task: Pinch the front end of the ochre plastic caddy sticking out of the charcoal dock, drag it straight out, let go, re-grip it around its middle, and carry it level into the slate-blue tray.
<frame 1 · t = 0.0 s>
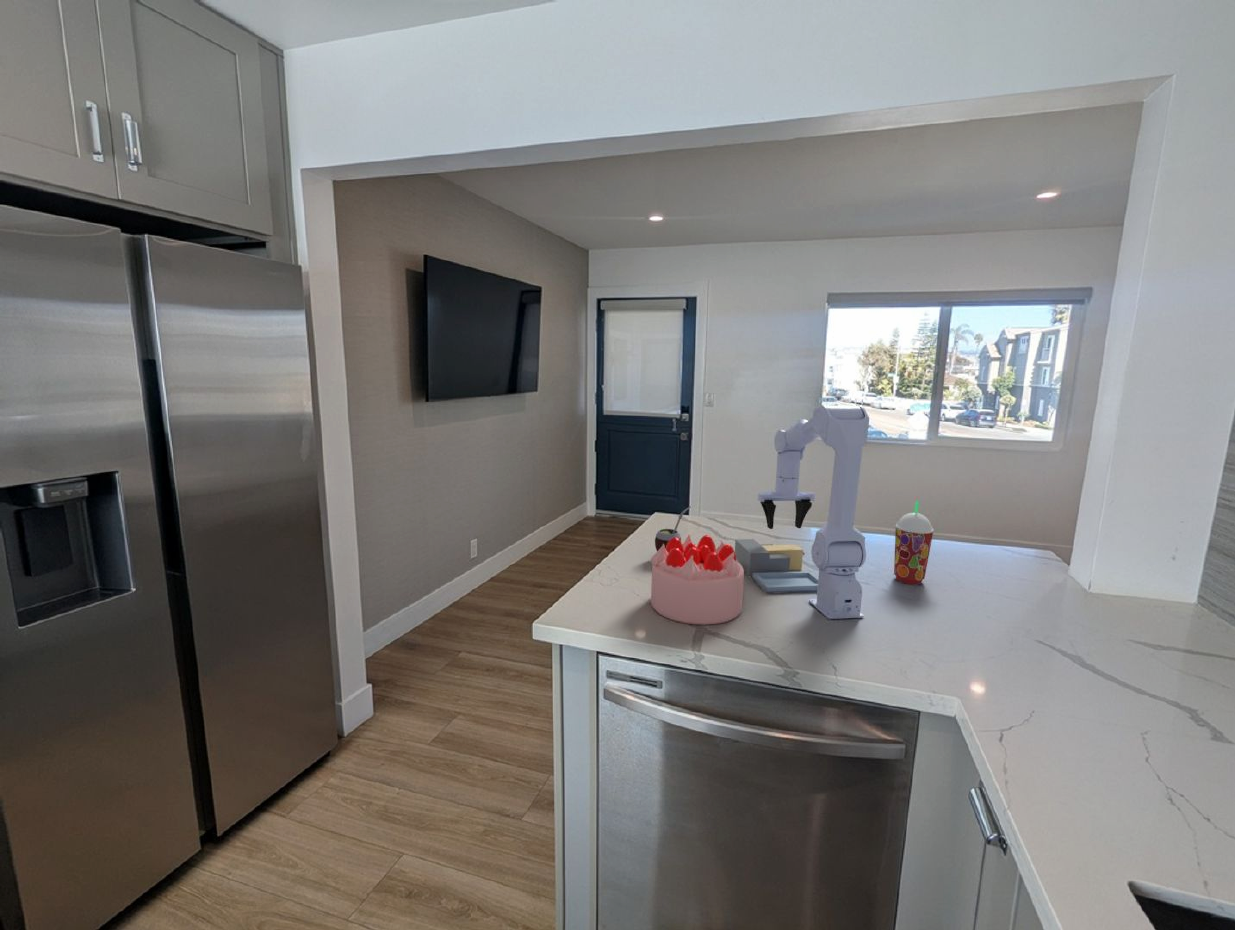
hand: (784, 527, 153), 10 cm above the worktop, tool pointing down, fingers open, 7 cm apart
smoothie: (908, 581, 144), on the worktop
caddy: (779, 567, 152), on the worktop
cake: (695, 607, 127), on the worktop
mate gourd: (669, 560, 156), on the worktop
tray: (789, 584, 140), on the worktop
dock: (769, 567, 152), on the worktop
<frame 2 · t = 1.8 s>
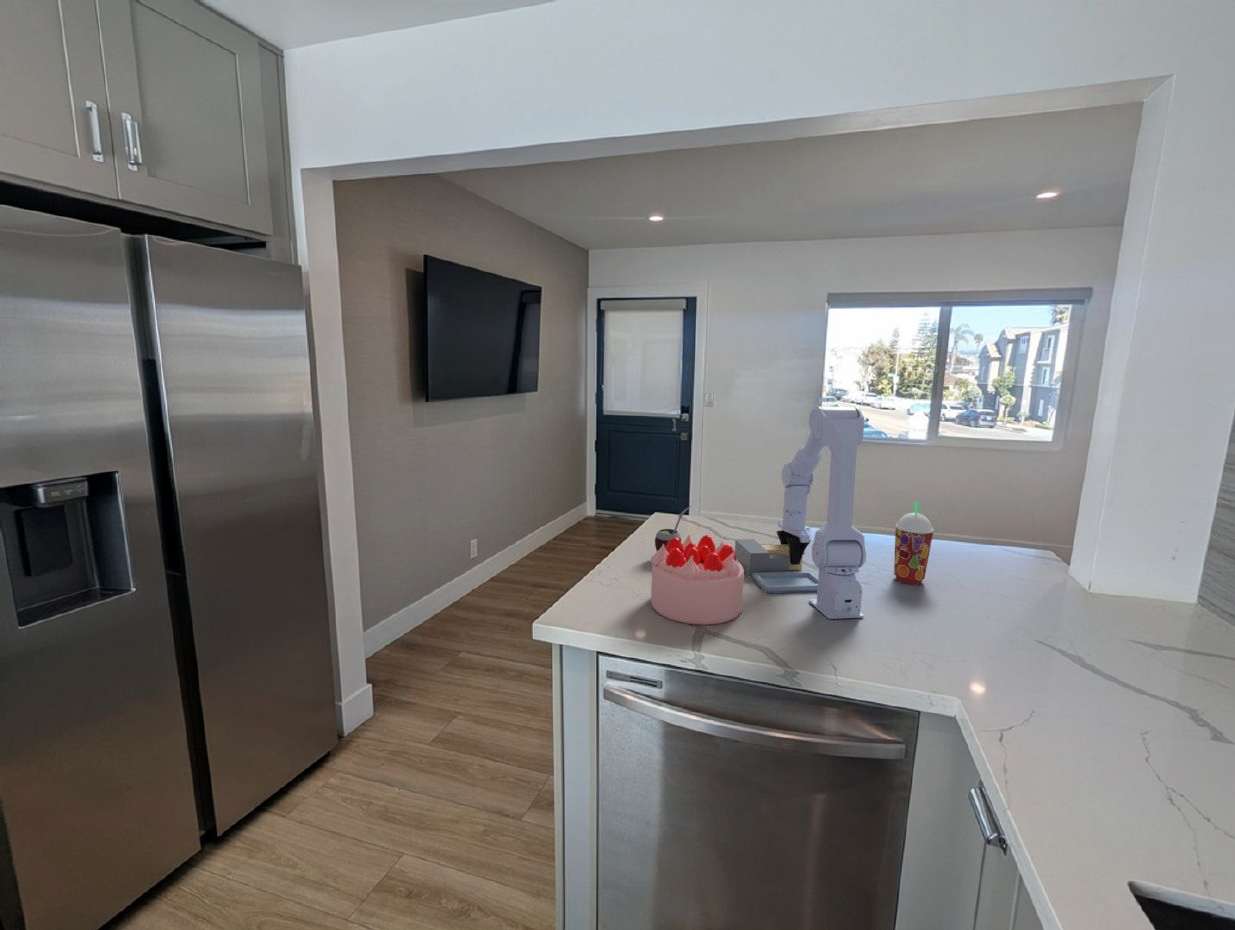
hand: (791, 561, 152), 2 cm above the worktop, tool pointing down, fingers closed on caddy, 4 cm apart
caddy: (779, 567, 152), on the worktop, touching gripper
everything else where it was.
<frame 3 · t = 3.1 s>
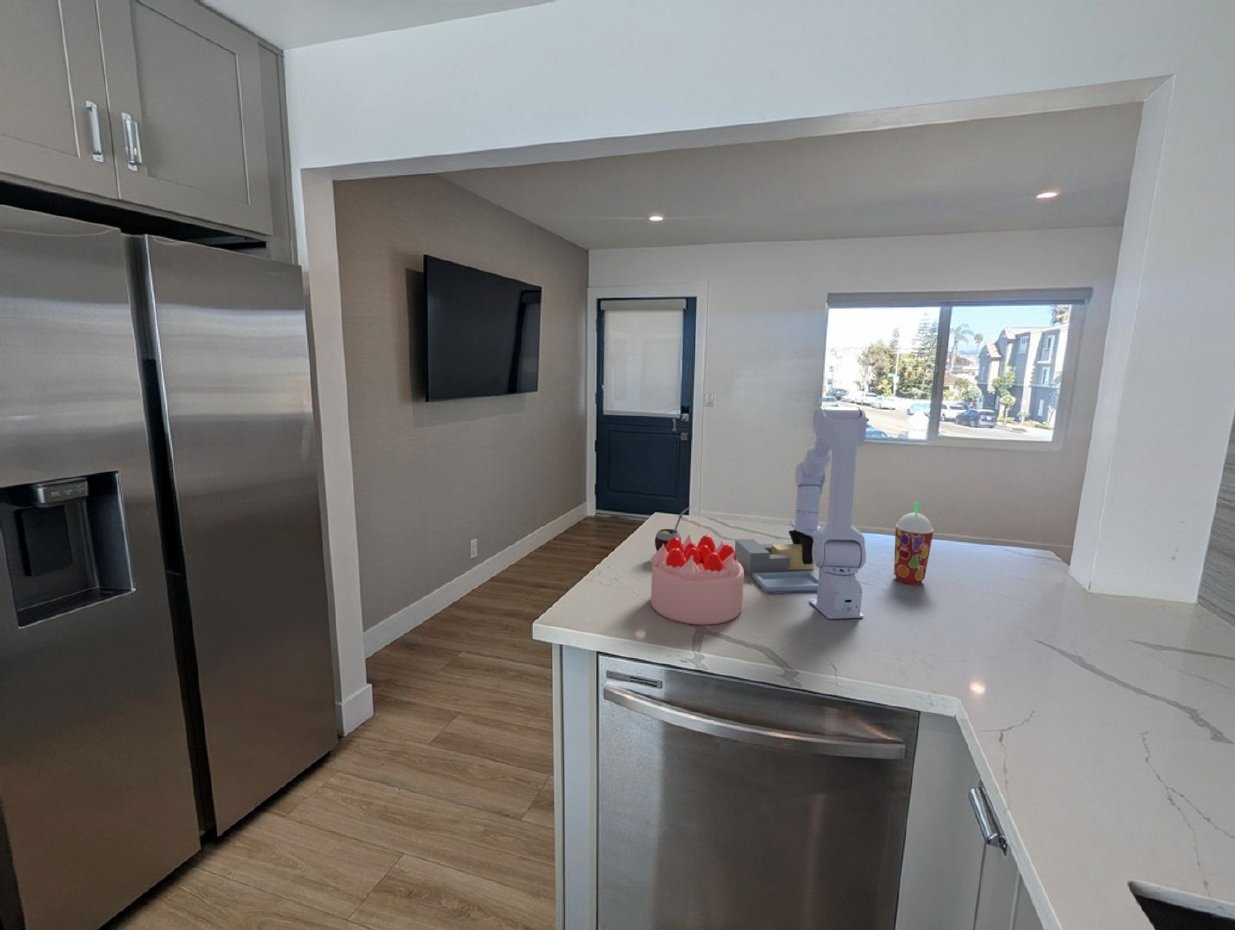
hand: (803, 560, 153), 2 cm above the worktop, tool pointing down, fingers closed on caddy, 4 cm apart
caddy: (791, 566, 153), on the worktop, touching gripper
everything else where it was.
when the fingers open (2 cm above the worktop, at t = 4.5 s): caddy stays where it is, on the worktop.
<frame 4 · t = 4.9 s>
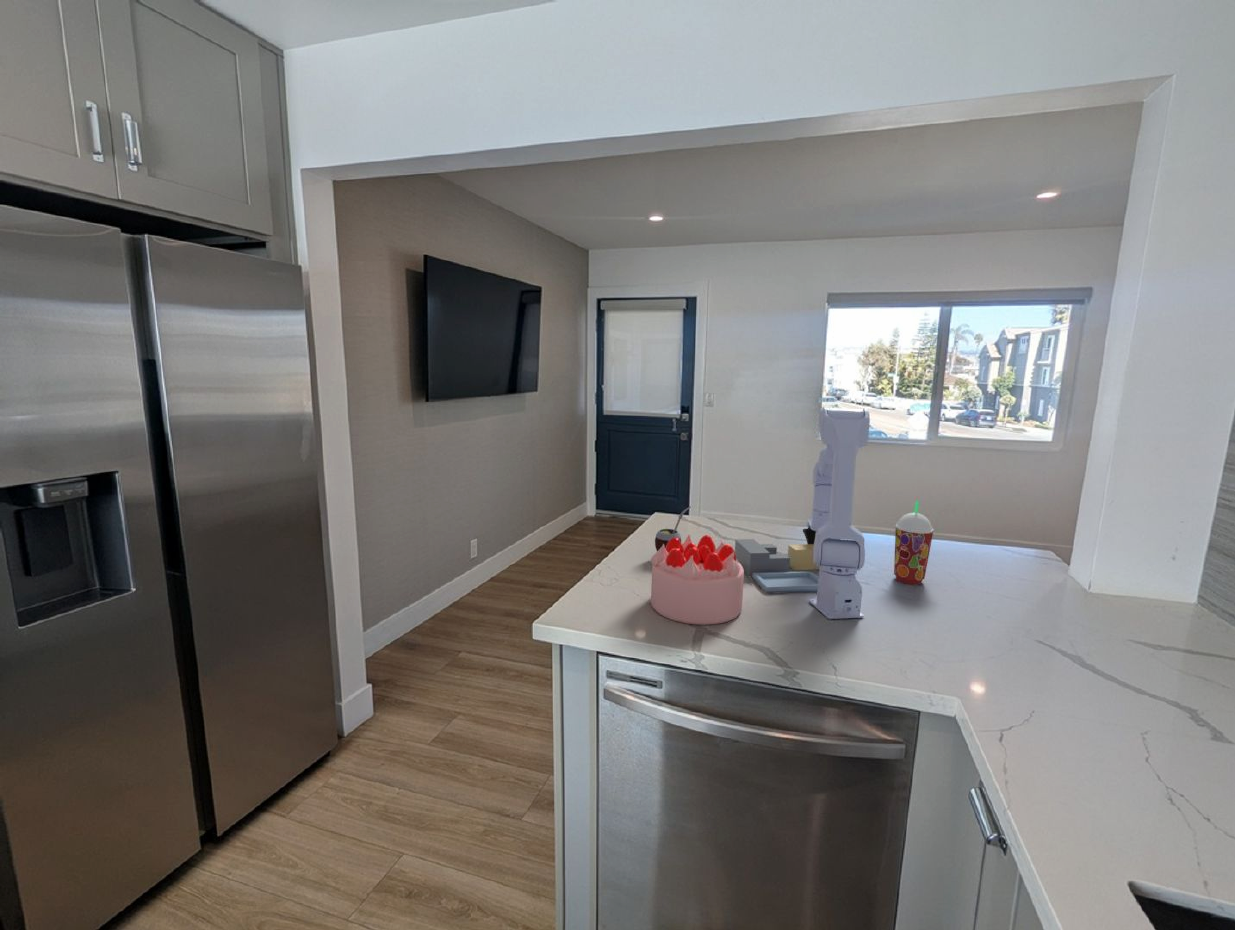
hand: (820, 560, 153), 2 cm above the worktop, tool pointing down, fingers open, 7 cm apart
caddy: (808, 567, 153), on the worktop
everything else where it was.
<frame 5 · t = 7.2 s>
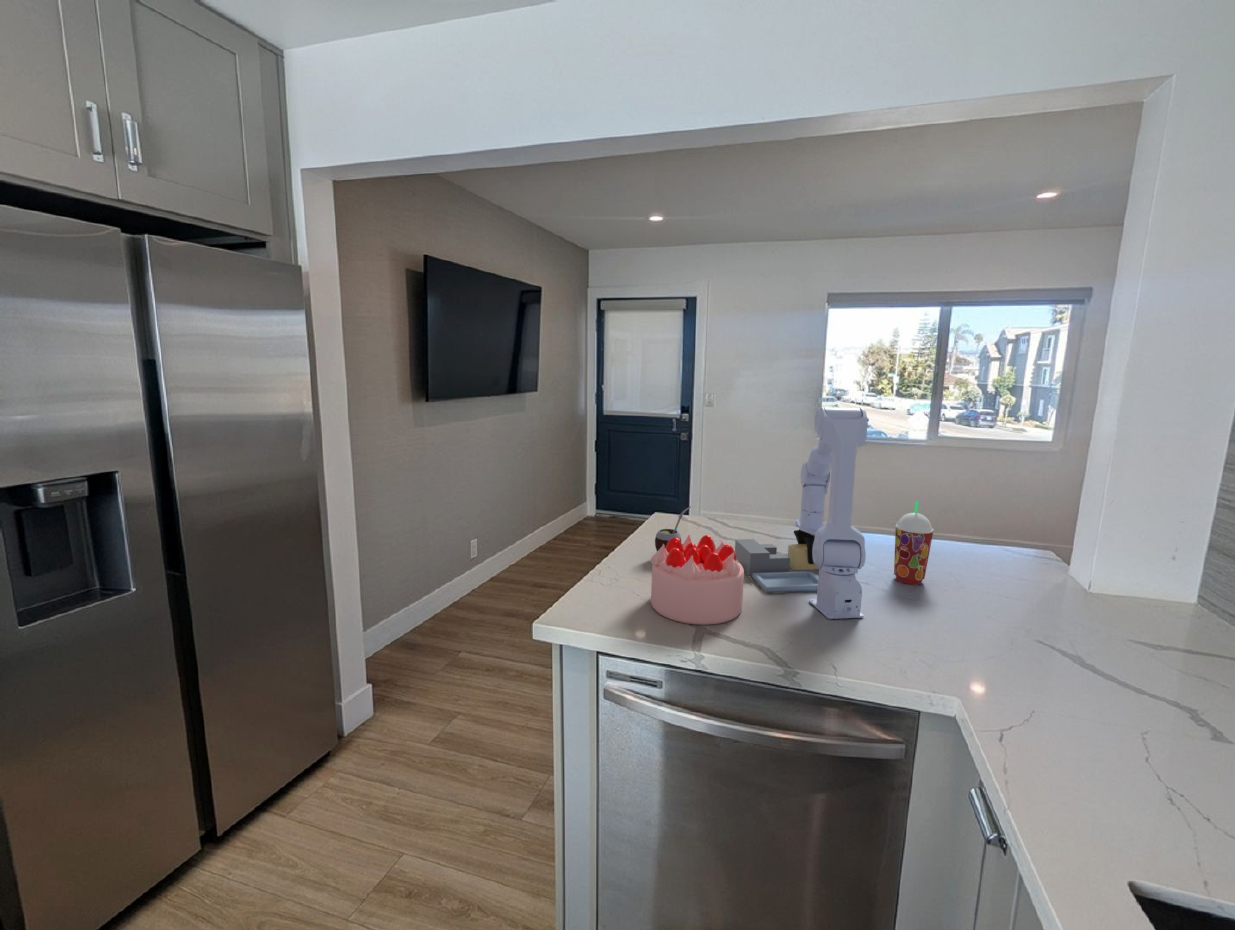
hand: (808, 560, 153), 2 cm above the worktop, tool pointing down, fingers closed on caddy, 4 cm apart
caddy: (808, 566, 153), on the worktop, touching gripper
everything else where it was.
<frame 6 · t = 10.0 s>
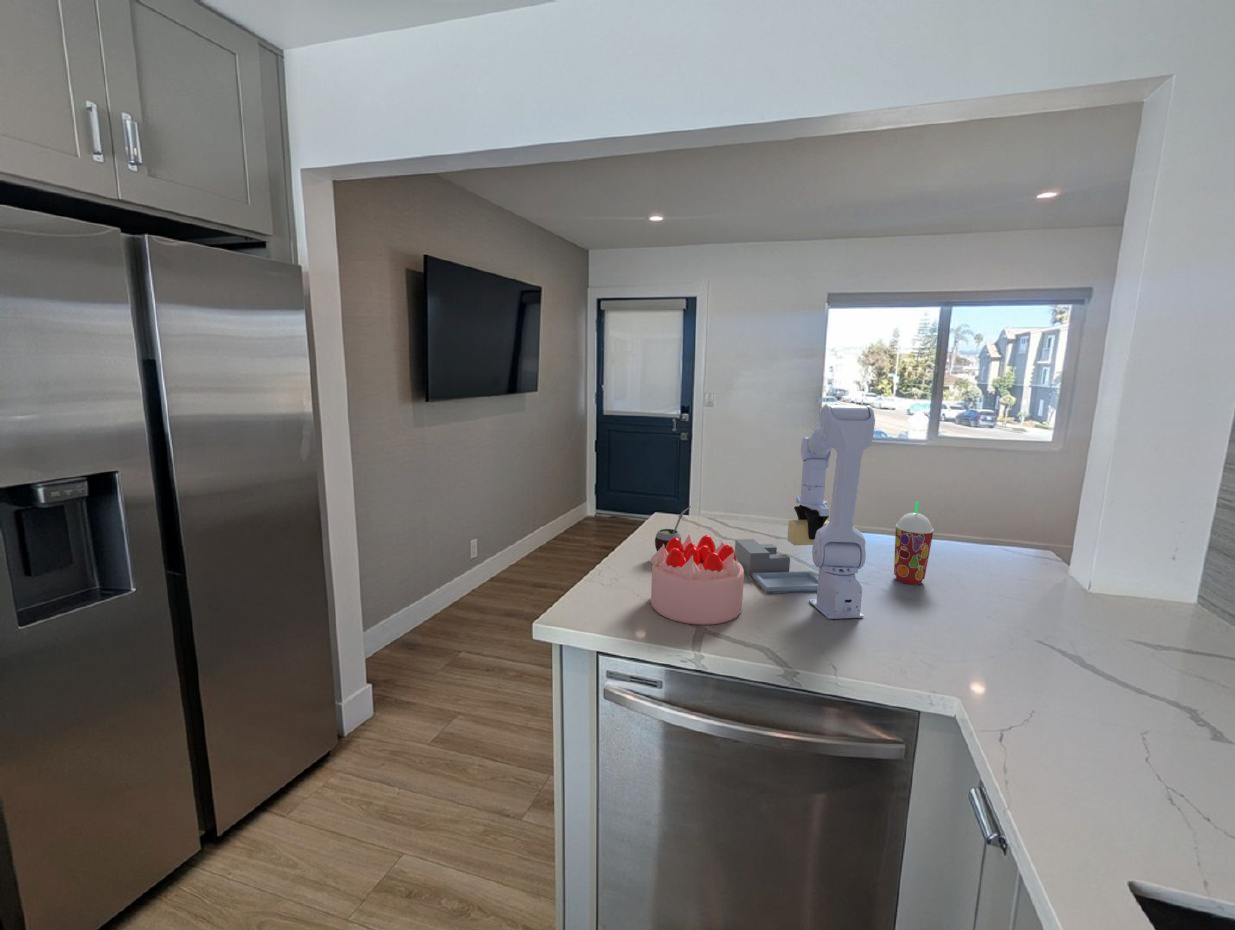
hand: (809, 536, 151), 9 cm above the worktop, tool pointing down, fingers closed on caddy, 4 cm apart
caddy: (809, 542, 151), point 7 cm above the worktop, touching gripper
everything else where it was.
when the fingers open (3 cm above the worktop, at t = 12.7 s): caddy drops 1 cm, resting on tray.
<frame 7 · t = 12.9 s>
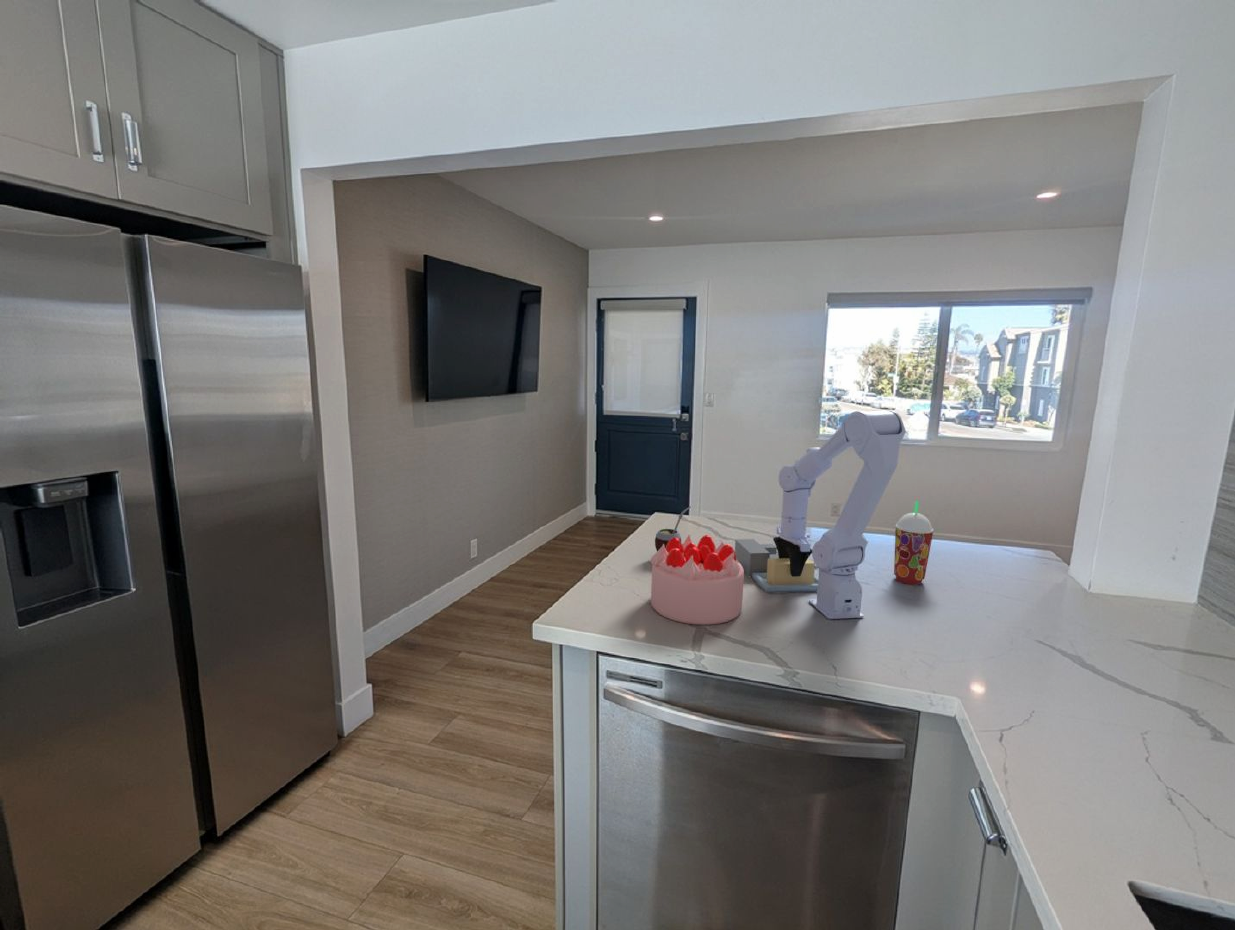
hand: (790, 571, 140), 3 cm above the worktop, tool pointing down, fingers open, 6 cm apart
caddy: (789, 582, 140), point 1 cm above the worktop, touching tray
everything else where it was.
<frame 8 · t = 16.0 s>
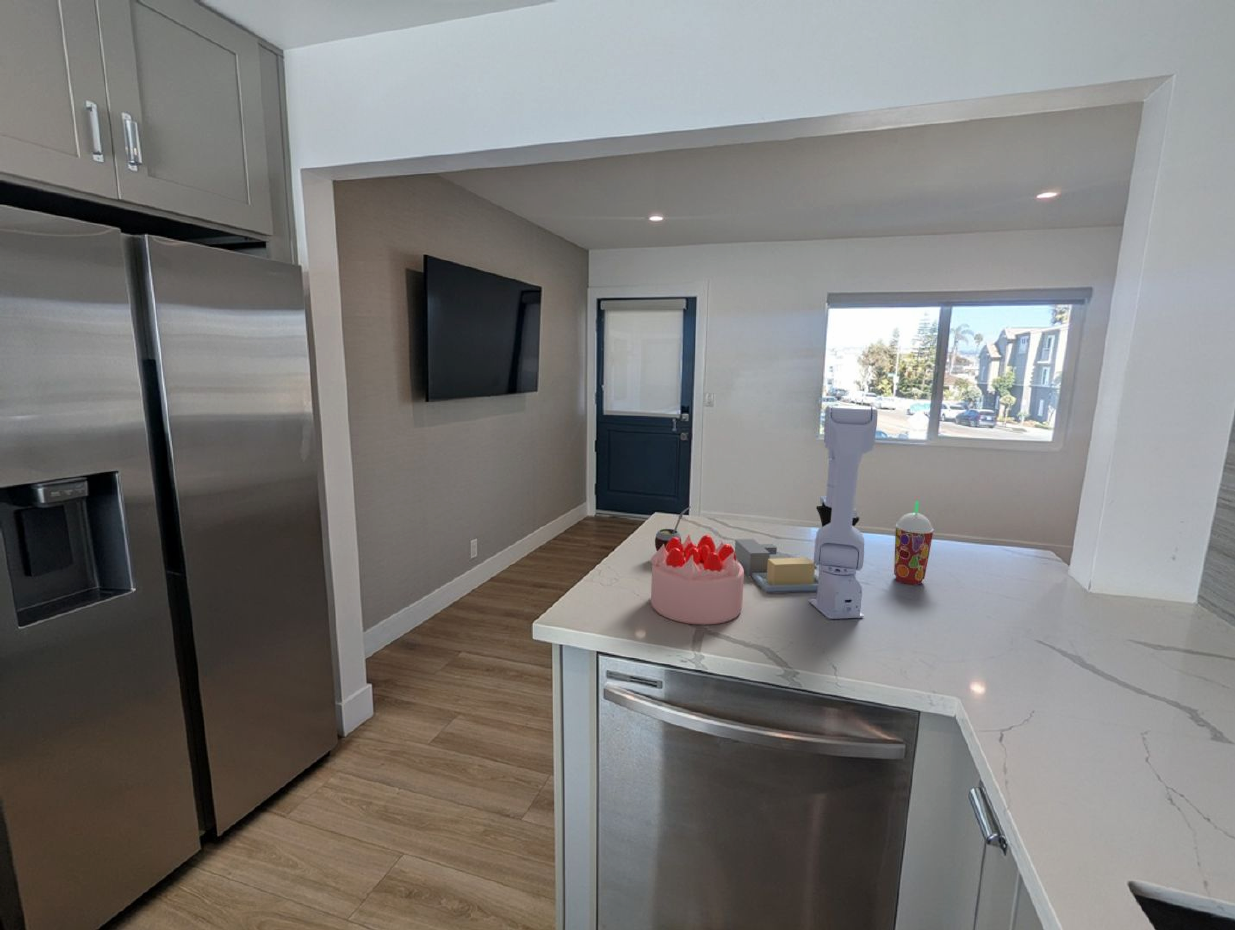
hand: (834, 538, 146), 9 cm above the worktop, tool pointing down, fingers open, 7 cm apart
nothing on the worktop moved.
at the end: caddy inside the target area on the tray (0.1 cm from its centre), point 0.5 cm above the tray's base; caddy tilted 0°; the gripper is holding nothing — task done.
